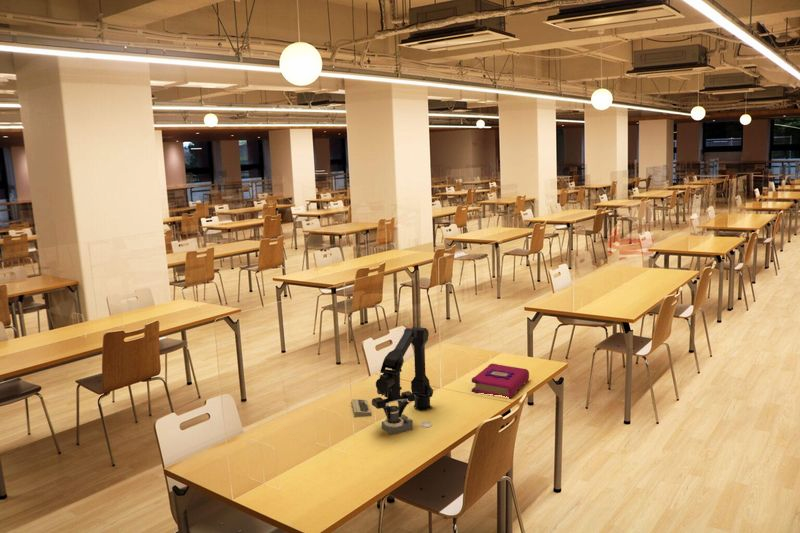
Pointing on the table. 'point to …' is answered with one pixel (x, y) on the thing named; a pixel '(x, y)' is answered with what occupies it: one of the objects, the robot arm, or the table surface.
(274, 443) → the table surface
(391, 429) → the camera body
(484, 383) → the book
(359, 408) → the computer
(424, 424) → the pale white disc
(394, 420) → the lens
